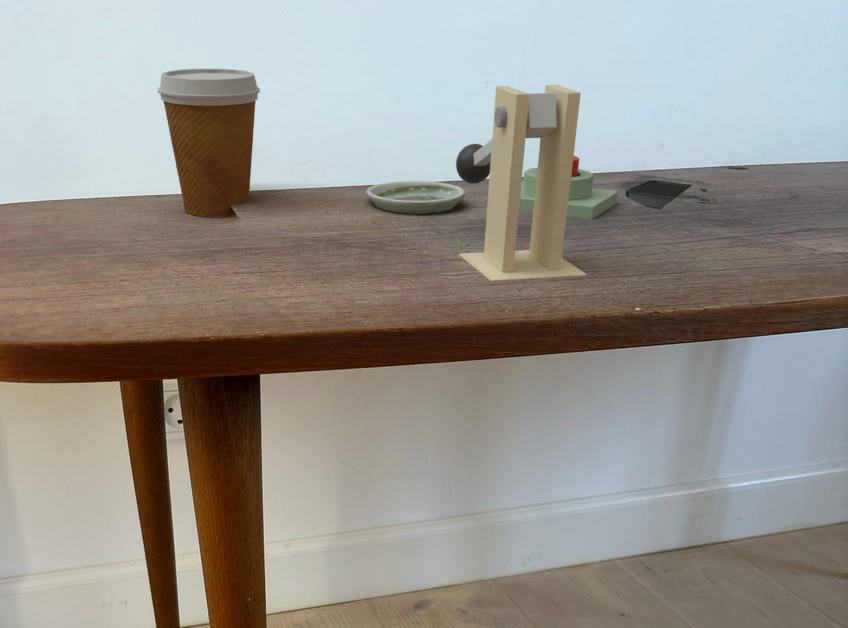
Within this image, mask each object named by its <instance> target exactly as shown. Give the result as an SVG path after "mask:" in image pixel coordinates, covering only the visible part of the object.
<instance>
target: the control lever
mask: <svg viewBox="0 0 848 628" xmlns="http://www.w3.org/2000/svg"><path fill="white" fill-rule="evenodd" d="M528 94H529V104H528V115H527V126H526V137H525V139H540V138H543V137H544V136H545V135H547V134H548V133H549V132H551V131H552V130H554V129H555V128H556V127H557V122H556V100H555V93H545V92H539V93H536V92H534V93H533V92H531V93H530V92H529V93H528ZM491 150H492V138H491V139H490V140H488V142H486V143H485V144H483V145H482V144H479V143H471V144H468V145H465V146H464V147H463V148H462V149H461V150H460V151H459V152H458V154H457V157H456V160H455V168H456V172H457V175H458V176H459V178H460V179H461V180H462V181H463V182H465V183H468V184H472V185H475V184H480V183H482V182H484V181H485V180H486V179H487V178H489V177H490V164H491Z"/></svg>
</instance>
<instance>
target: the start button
mask: <svg viewBox="0 0 848 628" xmlns="http://www.w3.org/2000/svg"><path fill="white" fill-rule="evenodd" d="M579 165H580V157H578V156H576V155H574V156H573V165H572V174H571V177H577V175H578V169H579Z"/></svg>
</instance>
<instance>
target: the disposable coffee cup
mask: <svg viewBox="0 0 848 628" xmlns="http://www.w3.org/2000/svg"><path fill="white" fill-rule="evenodd" d="M159 86H160V87H158V88H157V93H158V94H160V100H161V101H163V105H164V110H165V116H166V120H167V126H168V131H169V136H170V141H171V147H172V149H173V150H172V151H173V155H174V157H173V158H174V162H175V167H176V172H177V176H178V182H179V187H180V191H181V196H182V197H181V198H182V202H183V208H184V211H185V212H186V213H188V214H190V215H192V216H197V217H206V218H224V217H232V216H237V213H236V212H235V210H234V208H233V207H232V206H234V205H239V204H243V203H246V202H247V201H249V200H250V190H251V189H250V188H251V174H252V158H253V145H254V130H255V128H254V127H255V114H256V113H255V112H256V101H257V100H258V99H259V97H258V96H259V93H260V92H261V88H260V87H258V84H257V81H256V76H255V73H253V72H251V71H249V70H242V69H230V68H185V69H183V68H182V69H173V70H167V71H164V72H162V73H161V75H160V85H159Z"/></svg>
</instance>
